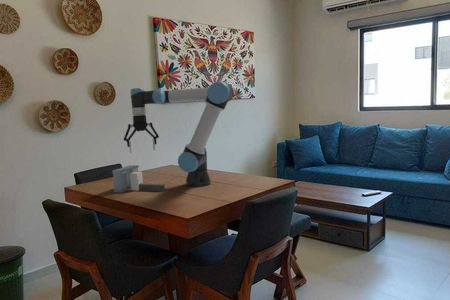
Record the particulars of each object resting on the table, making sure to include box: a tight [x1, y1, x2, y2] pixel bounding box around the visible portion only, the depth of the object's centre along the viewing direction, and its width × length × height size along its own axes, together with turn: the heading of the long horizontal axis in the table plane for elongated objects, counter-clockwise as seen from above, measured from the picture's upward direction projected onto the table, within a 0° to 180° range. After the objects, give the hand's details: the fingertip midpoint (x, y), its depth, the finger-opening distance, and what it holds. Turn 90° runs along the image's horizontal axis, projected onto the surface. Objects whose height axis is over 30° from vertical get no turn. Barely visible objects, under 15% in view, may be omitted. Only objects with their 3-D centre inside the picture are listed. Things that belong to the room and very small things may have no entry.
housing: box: [111, 164, 140, 194], centre depth 223 cm, size 6×18×13 cm, turn 160°
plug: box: [130, 171, 166, 192], centre depth 218 cm, size 20×5×10 cm, turn 70°
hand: (142, 151), depth 221 cm, fingers open, 13 cm apart
